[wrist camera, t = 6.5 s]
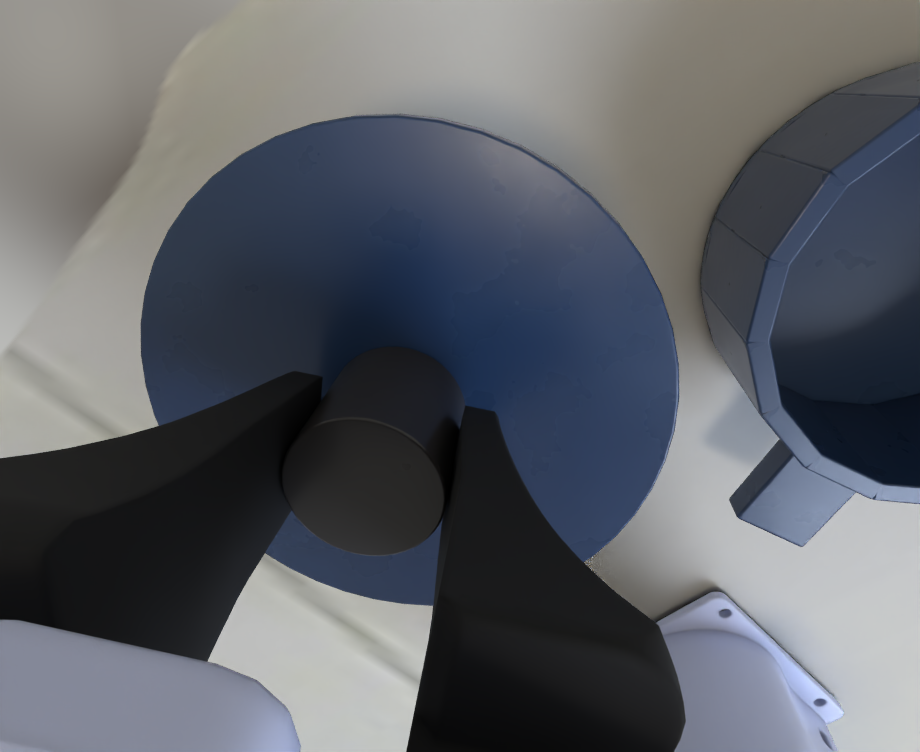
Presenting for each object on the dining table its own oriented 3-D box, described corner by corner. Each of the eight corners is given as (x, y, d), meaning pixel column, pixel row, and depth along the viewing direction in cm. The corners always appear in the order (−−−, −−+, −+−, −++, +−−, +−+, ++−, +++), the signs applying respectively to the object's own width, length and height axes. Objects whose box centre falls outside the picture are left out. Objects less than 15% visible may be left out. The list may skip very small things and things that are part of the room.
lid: (786, 274, 12) (895, 359, 9) (520, 634, 18) (514, 784, 14) (235, -2, 11) (84, -43, 8) (128, 467, 17) (8, 579, 13)
